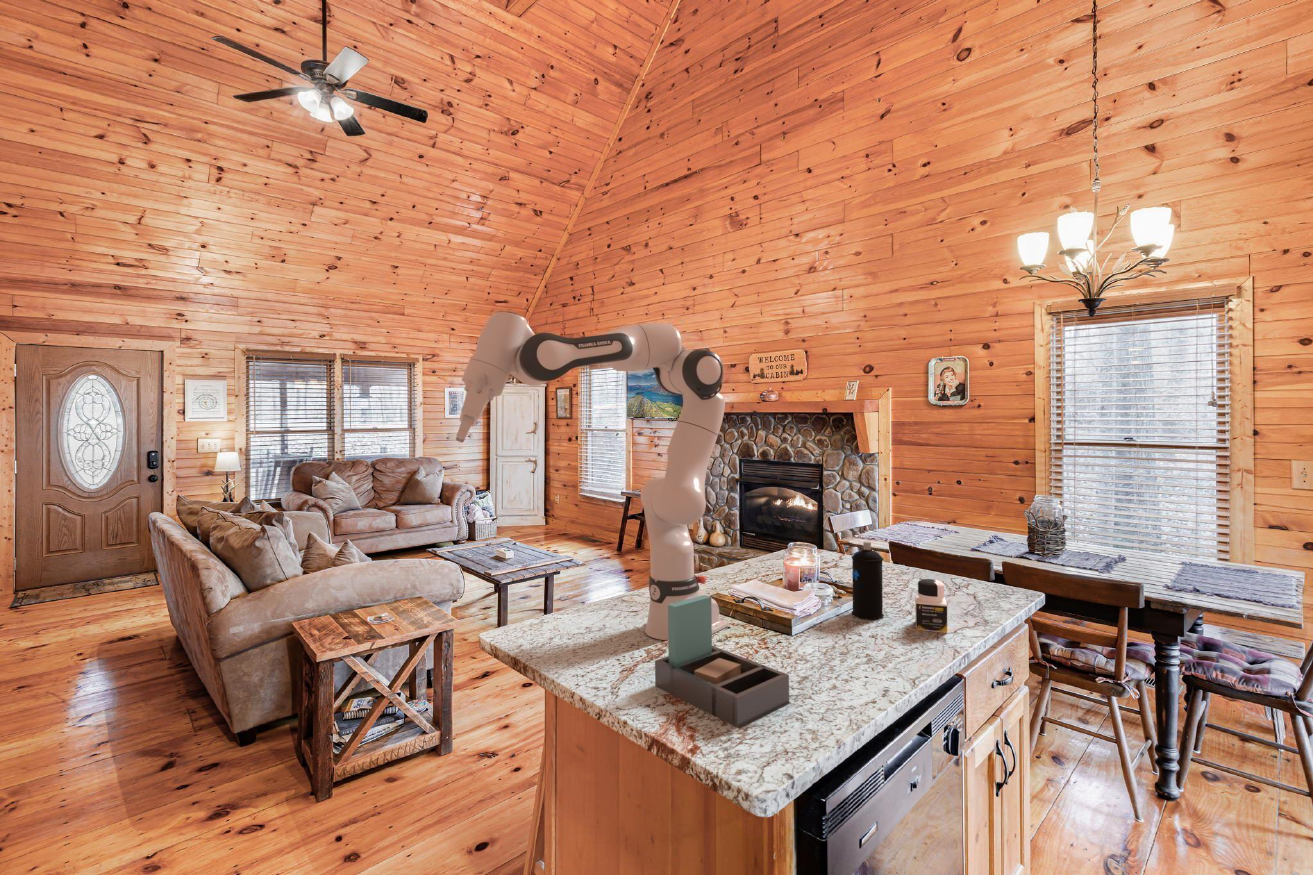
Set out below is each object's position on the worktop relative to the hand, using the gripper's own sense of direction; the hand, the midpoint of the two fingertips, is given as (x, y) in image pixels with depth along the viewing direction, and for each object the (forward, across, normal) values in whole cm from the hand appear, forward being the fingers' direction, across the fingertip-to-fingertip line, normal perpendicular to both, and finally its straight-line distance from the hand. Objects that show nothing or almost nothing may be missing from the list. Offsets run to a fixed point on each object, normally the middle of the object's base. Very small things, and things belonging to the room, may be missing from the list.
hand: (459, 440), depth 127 cm
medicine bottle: (+4, -8, -124) cm, 125 cm away
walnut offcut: (+28, -27, -60) cm, 71 cm away
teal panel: (+30, -19, -59) cm, 69 cm away
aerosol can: (+6, +5, -116) cm, 116 cm away
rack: (+31, -28, -62) cm, 75 cm away
